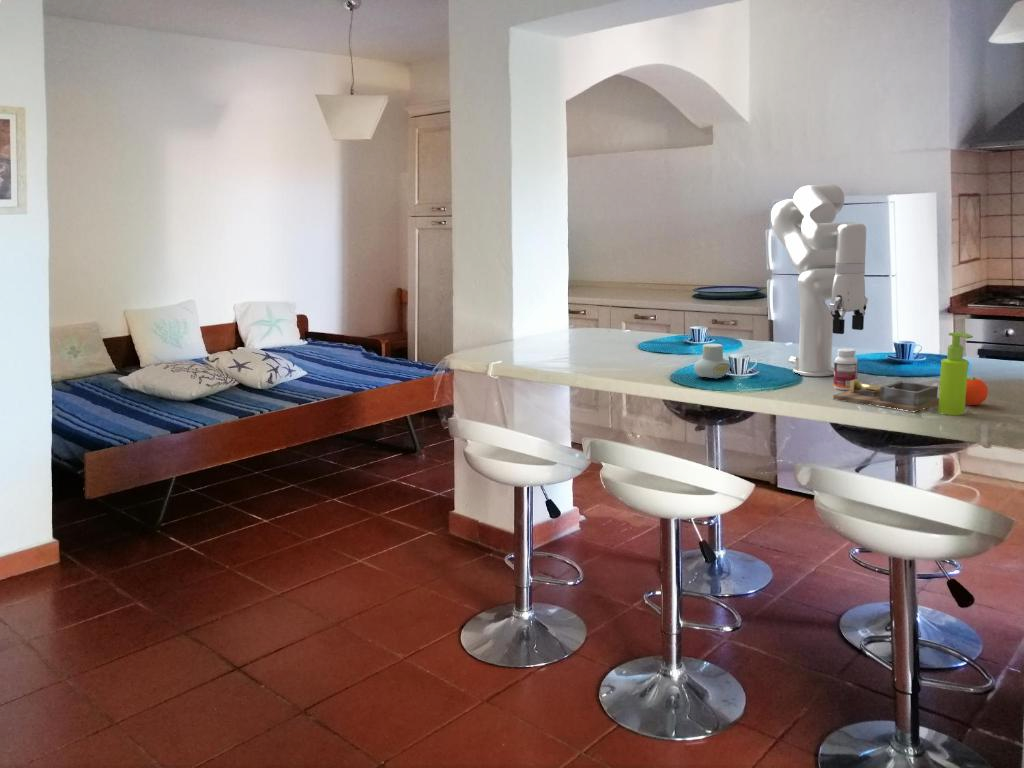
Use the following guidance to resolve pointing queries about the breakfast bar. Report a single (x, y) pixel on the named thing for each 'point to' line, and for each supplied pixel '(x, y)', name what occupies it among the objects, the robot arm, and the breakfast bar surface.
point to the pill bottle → (845, 368)
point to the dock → (895, 396)
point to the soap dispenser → (953, 378)
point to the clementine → (975, 391)
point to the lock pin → (863, 386)
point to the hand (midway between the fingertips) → (848, 331)
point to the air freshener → (712, 362)
